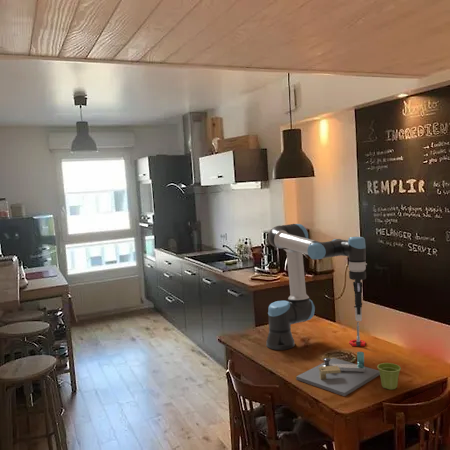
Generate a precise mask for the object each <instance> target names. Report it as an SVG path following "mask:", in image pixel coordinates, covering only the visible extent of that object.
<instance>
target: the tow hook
mask: <svg viewBox="0 0 450 450" xmlns="http://www.w3.org/2000/svg"><path fill="white" fill-rule="evenodd" d="M359 322H360V321H356V339H351V340H349V341H348V342H349V345H351V347H365V346H366V341H365V340H363V339H361V336H360V323H359Z"/></svg>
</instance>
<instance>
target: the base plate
mask: <svg viewBox="0 0 450 450" xmlns="http://www.w3.org/2000/svg"><path fill="white" fill-rule="evenodd" d="M323 363H325V361H323ZM329 363H330V364H354V365H357V363H353V362H350V361H347V360H343V359H339V358H336V357H333V358H330V361H329ZM318 367H321V363H320V364H319V365H316V366H314V367H312V368H310V369H308V370H306V371H304V372H302V373H300V374H298V375H297V376H295V378H296V381H299V382H302V383H305V384H308V385H311V386H312V387H317V388H319V389H322V390H326V391H328V392H331V393H334V394H337V395H340V396H343V397H346V396H348V395H349V394H351V393H353V392H354V391H356V390H358V389H359V388H361V387H363V386H364V385H366V384H367V383H369V382H370V381H372V380H375V379H376V378H377V377H379V376H380V372H379V369H375V368H370V367H367V366H364V368H365V372H358V371H341V373H329V374H326V379H323V380H321V379H320V377H319V369H318Z"/></svg>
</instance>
